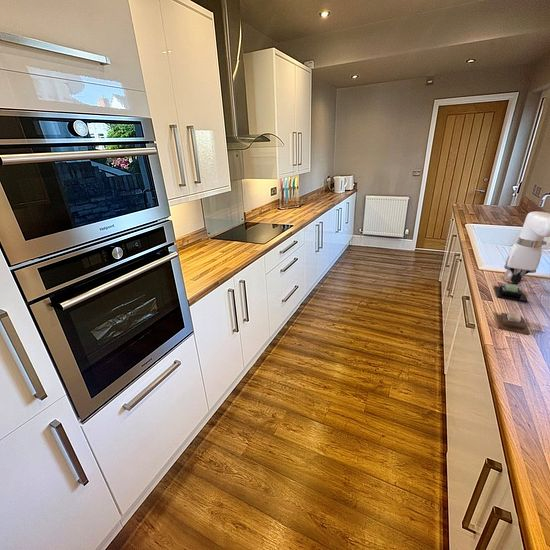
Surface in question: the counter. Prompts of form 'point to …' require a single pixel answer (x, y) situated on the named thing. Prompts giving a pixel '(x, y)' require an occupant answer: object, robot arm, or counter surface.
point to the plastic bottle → (509, 275)
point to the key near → (513, 317)
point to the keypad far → (509, 294)
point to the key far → (511, 288)
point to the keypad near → (511, 324)
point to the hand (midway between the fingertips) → (514, 282)
